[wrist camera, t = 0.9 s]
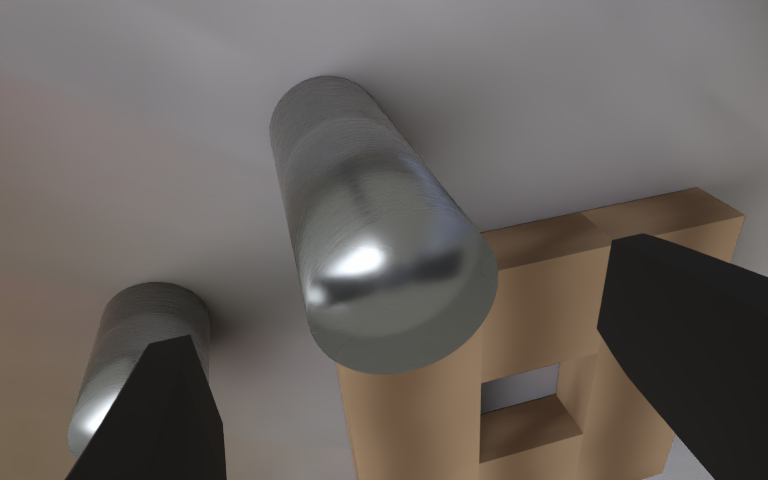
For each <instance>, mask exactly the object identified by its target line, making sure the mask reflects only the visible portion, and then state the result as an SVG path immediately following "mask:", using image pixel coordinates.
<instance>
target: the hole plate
mask: <svg viewBox="0 0 768 480" xmlns="http://www.w3.org/2000/svg"><path fill="white" fill-rule="evenodd" d="M745 216H746V215H744V214H742V213H740V212H739V211H737V210H735V209H734V208H732V207H730V206H728V205H727V204H725V203H723V202H721V201H720V200H718V199H716V198H715V197H713V196H711V195H709V194H708V193H706V192H704V191H702V190H701V189H699V188H693V189H688V190H683V191H678V192H674V193H669V194H664V195H659V196H655V197H650V198H645V199H640V200H636V201H631V202H626V203H621V204H616V205H612V206H607V207H602V208H597V209H593V210H588V211H583V212H578V213H574V214H569V215H564V216H559V217H555V218H550V219H545V220H540V221H536V222H531V223H526V224H521V225H516V226H512V227H507V228H502V229H497V230H493V231H488V232H483V233H480V234H481V235H482V236H483V237H484V239H485V240H486V241H487V242H488V244H489V246H490V247H491V249H492V251H493V253H494V256H495V259H496V262H497V268H498V287H497V292H496V296H495V300H494V302H493V305H492V307H491V310H490V312H489V313H488V315H487V317H486V319H485V320H484V322H483V323H482V325H481V326H480V327H479V329H478V330H477V331H476V332H475V333H474V334H473V336H472V337H471V338H470V339H469V340H467V341H466V342H465V343H464V344H463V345H462V346H461V347H459V348H458V349H457V350H455V351H454V352H453V353H451V354H449V355H448V356H446V357H445V358H443V359H441V360H439V361H437V362H435V363H433V364H431V365H428V366H426V367H423V368H420V369H417V370H413V371H409V372H404V373H399V374H389V375H377V374H368V373H363V372H358V371H355V370H352V369H349V368H346V367H344V366H342V365H340V364H339V363H337V362H336V367H337V372H338V378H339V384H340V389H341V395H342V401H343V406H344V412H345V418H346V423H347V429H348V435H349V440H350V446H351V451H352V457H353V463H354V468H355V474H356V480H641V479H645V478H648V477H651V476H654V475H658V474H661V473H662V472H663V469H664V466H665V463H666V460H667V457H668V453H669V450H670V447H671V444H672V441H673V438H674V435H675V432H674V431H673V430H672V429H671V428H670V427H669V425H668V424H667V423H666V422H665V421H664V420H663V418H662V417H661V416H660V415H659V414H658V413H657V411H656V410H655V409H654V408H653V407H652V405H651V404H650V403H649V402H648V401H647V400H646V398H645V397H644V396H643V395H642V394H641V392H640V391H639V390H638V389H637V388H636V386H635V385H634V384H633V383H632V382H631V380H630V379H629V378H628V377H627V375H626V374H625V372H624V371H623V369H622V368H621V366H620V365H619V363H618V362H617V360H616V359H615V357H614V356H613V354H612V353H611V351H610V350H609V348H608V346H607V345H606V343H605V341H604V340H603V338H602V337H601V335H600V333H599V332H598V330H597V329H596V328H597V323H598V317H599V311H600V306H601V300H602V294H603V288H604V283H605V277H606V271H607V265H608V260H609V254H610V248H611V243H612V240H614V239H619V238H623V237H628V236H632V235H637V234H641V233H644V234H648V235H651V236H655V237H658V238H661V239H664V240H667V241H670V242H673V243H676V244H679V245H682V246H685V247H687V248H690V249H693V250H696V251H699V252H701V253H704V254H707V255H709V256H712V257H715V258H717V259H720V260H723V261H725V262H728V263H730V262H731V259H732V256H733V253H734V250H735V247H736V244H737V240H738V237H739V234H740V231H741V228H742V225H743V222H744V219H745ZM557 363H560V367H559V375H558V382H557V390H556V394H555V395H552V396H548V397H544V398H541V399H537V400H533V401H530V402H526V403H522V404H518V405H515V406H511V407H507V408H504V409H500V410H496V411H493V412H489V413H485V414H482V415H480V409H481V383H484V382H488V381H492V380H496V379H500V378H504V377H507V376H511V375H515V374H519V373H523V372H527V371H531V370H534V369H538V368H542V367H546V366H550V365H554V364H557Z"/></svg>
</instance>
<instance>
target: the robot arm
mask: <svg viewBox="0 0 768 480" xmlns="http://www.w3.org/2000/svg"><path fill="white" fill-rule="evenodd" d="M596 329H597V330H598V332H599V333H600V335H601V337H602V338H603V340H604V341H605V343H606V345H607V346H608V348H609V350H610V351H611V353H612V354H613V356H614V357H615V359H616V360H617V362H618V363H619V365H620V366H621V368H622V369H623V371H624V372H625V374H626V375H627V377H628V378H629V379H630V380H631V382H632V383H633V384H634V385H635V386H636V388H637V389H638V390H639V391H640V392H641V394H642V395H643V396H644V397H645V398H646V400H647V401H648V402H649V403H650V404H651V405H652V407H653V408H654V409H655V410H656V411H657V413H658V414H659V415H660V416H661V417H662V418H663V420H664V421H665V422H666V423H667V424H668V425H669V427H670V428H671V429H672V430H673V431H674V432H675V434H676V435H677V436H678V437H679V438H680V439H681V441H682V442H683V443H684V444H685V445H686V446H687V448H688V449H689V450H690V451H691V452H692V453H693V455H694V456H695V457H696V458H697V459H698V460H699V462H700V463H701V464H702V465H703V466H704V467H705V469H706V470H707V471H708V472H709V473H710V474H711V476H712V477H713V478H714V479H715V480H768V277H766V276H763V275H760V274H757V273H755V272H752V271H749V270H747V269H744V268H741V267H739V266H736V265H733V264H731V263H728V262H725V261H723V260H720V259H717V258H715V257H712V256H709V255H707V254H704V253H701V252H699V251H696V250H693V249H690V248H687V247H685V246H682V245H679V244H676V243H673V242H670V241H667V240H664V239H661V238H658V237H655V236H651V235H648V234H644V233H641V234H637V235H632V236H628V237H623V238H619V239H614V240H612V243H611V248H610V254H609V260H608V265H607V271H606V277H605V283H604V288H603V294H602V300H601V306H600V311H599V317H598V323H597V328H596ZM65 480H227V478H226V462H225V448H224V434H223V423H222V420H221V417H220V415H219V412H218V409H217V406H216V404H215V401H214V398H213V395H212V393H211V390H210V387H209V384H208V382H207V379H206V376H205V373H204V371H203V368H202V365H201V362H200V360H199V357H198V354H197V351H196V349H195V346H194V343H193V340H192V338H191V335H190V334H189V335H185V336H180V337H176V338H171V339H167V340H162V341H158V342H153V343H149V344H148V346H147V347H146V348H145V350H144V351H143V353H142V354H141V356H140V358H139V359H138V361H137V363H136V364H135V366H134V368H133V370H132V371H131V373H130V375H129V376H128V378H127V380H126V382H125V383H124V385H123V387H122V388H121V390H120V392H119V394H118V395H117V397H116V399H115V400H114V402H113V404H112V405H111V407H110V409H109V410H108V412H107V414H106V415H105V417H104V419H103V420H102V422H101V424H100V425H99V427H98V428H97V430H96V431H95V433H94V435H93V436H92V438H91V439H90V441H89V442H88V444H87V446H86V447H85V449H84V450H83V452H82V454H81V455H80V457H79V458H78V460H77V461H76V463H75V465H74V466H73V468H72V469H71V471H70V472H69V474H68V475H67V477H66V478H65Z"/></svg>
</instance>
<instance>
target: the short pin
mask: <svg viewBox="0 0 768 480" xmlns="http://www.w3.org/2000/svg"><path fill="white" fill-rule="evenodd" d="M189 334H190V335H191V338H192V340H193V343H194V346H195V349H196V351H197V354H198V357H199V360H200V362H201V365H202V368H203V371H204V373H205V376H206V379H207V382H208V384H209V353H210V315H209V312H208V309H207V307H206V306H205V304H204V303H203V301H202V300H201V299H200V298H199V297H198V296H197V295H195V294H194V293H192V292H191V291H189V290H187V289H185V288H183V287H181V286H178V285H174V284H170V283H163V282H149V283H142V284H138V285H134V286H132V287H129V288H127V289H125V290H123V291H121V292H120V293H118V294H117V295H116V296H114V297H113V298H112V299H111V300H110V302H109V303H108V304H107V306H106V308H105V309H104V312H103V315H102V318H101V322H100V325H99V328H98V332H97V335H96V339H95V342H94V345H93V349H92V352H91V355H90V359H89V362H88V365H87V369H86V372H85V376H84V379H83V382H82V386H81V389H80V392H79V396H78V399H77V402H76V406H75V409H74V413H73V416H72V419H71V423H70V426H69V429H68V435H67V437H68V445H69V448H70V450H71V452H72V454H73V455H74V456H75V458H76V459H77V460H78V458H79V457H80V455H81V454H82V452H83V450H84V449H85V447H86V446H87V444H88V442H89V441H90V439H91V438H92V436H93V435H94V433H95V431H96V430H97V428H98V427H99V425H100V424H101V422H102V420H103V419H104V417H105V415H106V414H107V412H108V410H109V409H110V407H111V405H112V404H113V402H114V400H115V399H116V397H117V395H118V394H119V392H120V390H121V388H122V387H123V385H124V383H125V382H126V380H127V378H128V376H129V375H130V373H131V371H132V370H133V368H134V366H135V364H136V363H137V361H138V359H139V358H140V356H141V354H142V353H143V351H144V350H145V348H146V347H147V346H148V344H149V343H153V342H158V341H162V340H167V339H171V338H176V337H180V336H185V335H189Z"/></svg>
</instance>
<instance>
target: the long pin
mask: <svg viewBox="0 0 768 480" xmlns="http://www.w3.org/2000/svg"><path fill="white" fill-rule="evenodd" d="M270 141H271V146H272V151H273V156H274V160H275V165H276V170H277V175H278V180H279V184H280V189H281V194H282V199H283V204H284V208H285V213H286V218H287V223H288V228H289V232H290V237H291V242H292V247H293V252H294V256H295V261H296V266H297V271H298V276H299V280H300V285H301V290H302V295H303V300H304V304H305V309H306V314H307V319H308V323H309V327H310V330H311V333H312V335H313V337H314V339H315V341H316V343H317V344H318V346H319V347H320V348H321V350H322V351H323V352H324V353H325V354H326V355H327V356H328V357H330V358H331V359H333V360H334V361H335V362H337V363H339V364H340V365H342V366H344V367H346V368H349V369H352V370H355V371H358V372H363V373H368V374H377V375H389V374H399V373H404V372H409V371H413V370H417V369H420V368H423V367H426V366H428V365H431V364H433V363H435V362H437V361H439V360H441V359H443V358H445V357H446V356H448V355H449V354H451V353H453V352H454V351H455V350H457V349H458V348H459V347H461V346H462V345H463V344H464V343H465V342H466V341H467V340H469V339H470V338H471V337H472V336H473V334H474V333H475V332H476V331H477V330H478V329H479V327H480V326H481V325H482V323H483V322H484V320H485V319H486V317H487V315H488V313H489V312H490V310H491V307H492V305H493V302H494V300H495V296H496V292H497V287H498V268H497V262H496V259H495V256H494V253H493V251H492V249H491V247H490V246H489V244H488V242H487V241H486V240H485V239H484V237H483V236H482V235H481V234H480V232H479V231H478V230H477V229H476V227H475V226H474V225H473V224H472V222H471V221H470V220H469V219H468V217H467V216H466V215H465V214H464V212H463V211H462V210H461V209H460V207H459V206H458V205H457V204H456V202H455V201H454V200H453V199H452V197H451V196H450V195H449V194H448V192H447V191H446V190H445V189H444V187H443V186H442V185H441V184H440V182H439V181H438V180H437V179H436V178H435V176H434V175H433V174H432V173H431V171H430V170H429V169H428V168H427V166H426V165H425V164H424V163H423V161H422V160H421V159H420V158H419V156H418V155H417V154H416V153H415V151H414V150H413V149H412V148H411V146H410V145H409V144H408V143H407V141H406V140H405V139H404V138H403V136H402V135H401V134H400V133H399V131H398V130H397V129H396V128H395V126H394V125H393V124H392V123H391V121H390V120H389V119H388V118H387V117H386V115H385V114H384V113H383V112H382V110H381V109H380V108H379V107H378V105H377V104H376V103H375V102H374V100H373V99H372V98H371V97H370V95H369V94H368V93H367V92H366V91H365V90H364V89H363V88H361V87H360V86H358V85H357V84H355V83H353V82H351V81H349V80H347V79H344V78H340V77H335V76H321V77H315V78H311V79H308V80H305V81H303V82H301V83H299V84H297V85H296V86H294V87H293V88H292V89H290V90H289V91H288V92H287V93H286V94H285V95H284V96H283V97H282V99H281V100H280V101H279V103H278V104H277V106H276V108H275V110H274V113H273V115H272V119H271V124H270Z"/></svg>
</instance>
